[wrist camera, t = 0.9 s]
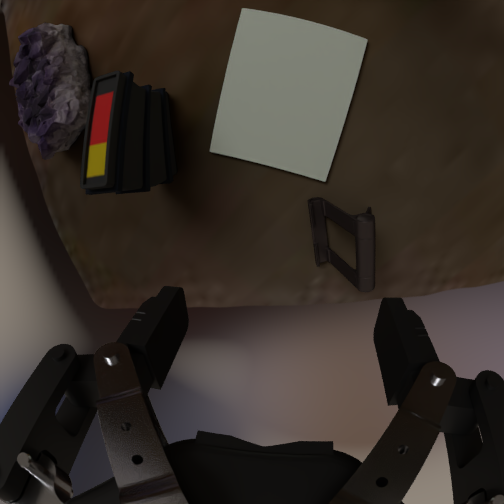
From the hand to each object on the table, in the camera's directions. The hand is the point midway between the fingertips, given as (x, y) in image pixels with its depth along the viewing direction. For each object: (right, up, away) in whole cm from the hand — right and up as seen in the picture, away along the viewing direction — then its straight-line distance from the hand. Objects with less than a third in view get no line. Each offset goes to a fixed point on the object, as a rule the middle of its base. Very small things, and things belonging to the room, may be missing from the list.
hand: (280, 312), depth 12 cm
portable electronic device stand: (+10, +6, +25) cm, 28 cm away
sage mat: (+3, +20, +18) cm, 27 cm away
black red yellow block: (-12, +18, +22) cm, 31 cm away
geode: (-28, +27, +19) cm, 43 cm away
